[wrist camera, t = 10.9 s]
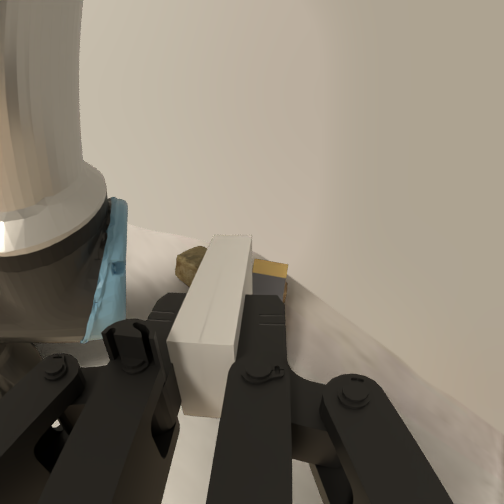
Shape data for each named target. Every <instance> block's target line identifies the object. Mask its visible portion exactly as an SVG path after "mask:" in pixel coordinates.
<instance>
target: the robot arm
mask: <svg viewBox="0 0 504 504" xmlns="http://www.w3.org/2000/svg"><path fill="white" fill-rule="evenodd" d="M82 7H83V0H0V504H161V502H162V498H163V494H164V490H165V486H166V482H167V478H168V474H169V470H170V466H171V462H172V458H173V454H174V450H175V447H176V443H177V439H178V435H179V431H180V424H179V420H178V417H177V416H178V413H179V409H180V406H182V409H183V413H184V415H190V416H199V417H210V418H220V423H219V429H218V435H217V441H216V447H215V453H214V458H213V464H212V470H211V476H210V482H209V488H208V494H207V500H206V504H292V459H296V460H300V461H304V462H308V463H309V465H310V468H311V471H312V473H313V476H314V479H315V482H316V484H317V487H318V490H319V493H320V495H321V498H322V501H323V503H324V504H453V502H452V500H451V498H450V497H449V495H448V493H447V492H446V490H445V488H444V487H443V485H442V483H441V482H440V480H439V478H438V477H437V475H436V473H435V472H434V470H433V468H432V467H431V465H430V464H429V462H428V460H427V459H426V457H425V455H424V454H423V452H422V451H421V449H420V447H419V446H418V444H417V443H416V441H415V439H414V438H413V436H412V435H411V433H410V431H409V430H408V428H407V427H406V425H405V424H404V422H403V420H402V419H401V417H400V416H399V414H398V413H397V411H396V409H395V408H394V406H393V405H392V403H391V402H390V400H389V399H388V397H387V396H386V394H385V392H384V391H383V389H382V388H381V387H380V386H379V385H378V384H377V383H376V382H375V381H374V380H372V379H370V378H368V377H366V376H363V375H358V374H344V375H340V376H338V377H335V378H333V379H332V380H331V381H330V382H328V383H327V384H326V385H325V384H320V383H316V382H312V381H309V380H306V379H303V378H301V377H300V376H298V375H296V374H295V373H294V372H293V371H292V370H291V368H290V367H289V365H288V362H287V351H286V328H285V307H284V303H283V302H282V301H281V299H280V298H279V297H278V295H252V235H214V236H213V238H212V240H211V243H210V245H209V247H208V249H207V251H206V253H205V255H204V258H203V260H202V262H201V264H200V266H199V268H198V271H197V273H196V275H195V277H194V279H193V281H192V284H191V286H190V288H189V290H188V293H187V294H186V293H167V294H166V295H164V296H163V297H162V298H161V299H159V300H158V301H157V303H156V304H155V306H154V308H153V310H152V312H151V313H150V315H149V317H148V320H146V321H143V320H139V319H126V246H127V217H128V206H127V203H126V201H124V200H122V199H117V198H115V197H111V198H109V199H107V189H106V183H105V179H104V177H103V175H102V174H101V172H100V171H98V170H97V169H96V168H94V167H93V166H91V165H90V164H88V163H87V162H85V161H83V157H82V145H81V133H80V132H81V131H80V112H79V48H80V30H81V18H82ZM100 339H103V341H104V344H105V346H106V349H107V352H108V355H109V358H110V361H109V363H108V365H106V366H100V367H88V368H80V366H79V364H78V361H77V359H75V358H74V357H73V356H72V355H68V354H55V355H52V356H49V357H47V358H45V359H44V360H42V358H41V356H40V354H39V352H38V350H37V349H36V347H35V346H34V345H33V343H73V342H80V343H87V342H88V341H91V340H100ZM56 420H58V421H59V423H60V425H59V426H58V427H56V428H53V427H52V426H51V425H52V424H53V423H54V422H55V421H56Z"/></svg>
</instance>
